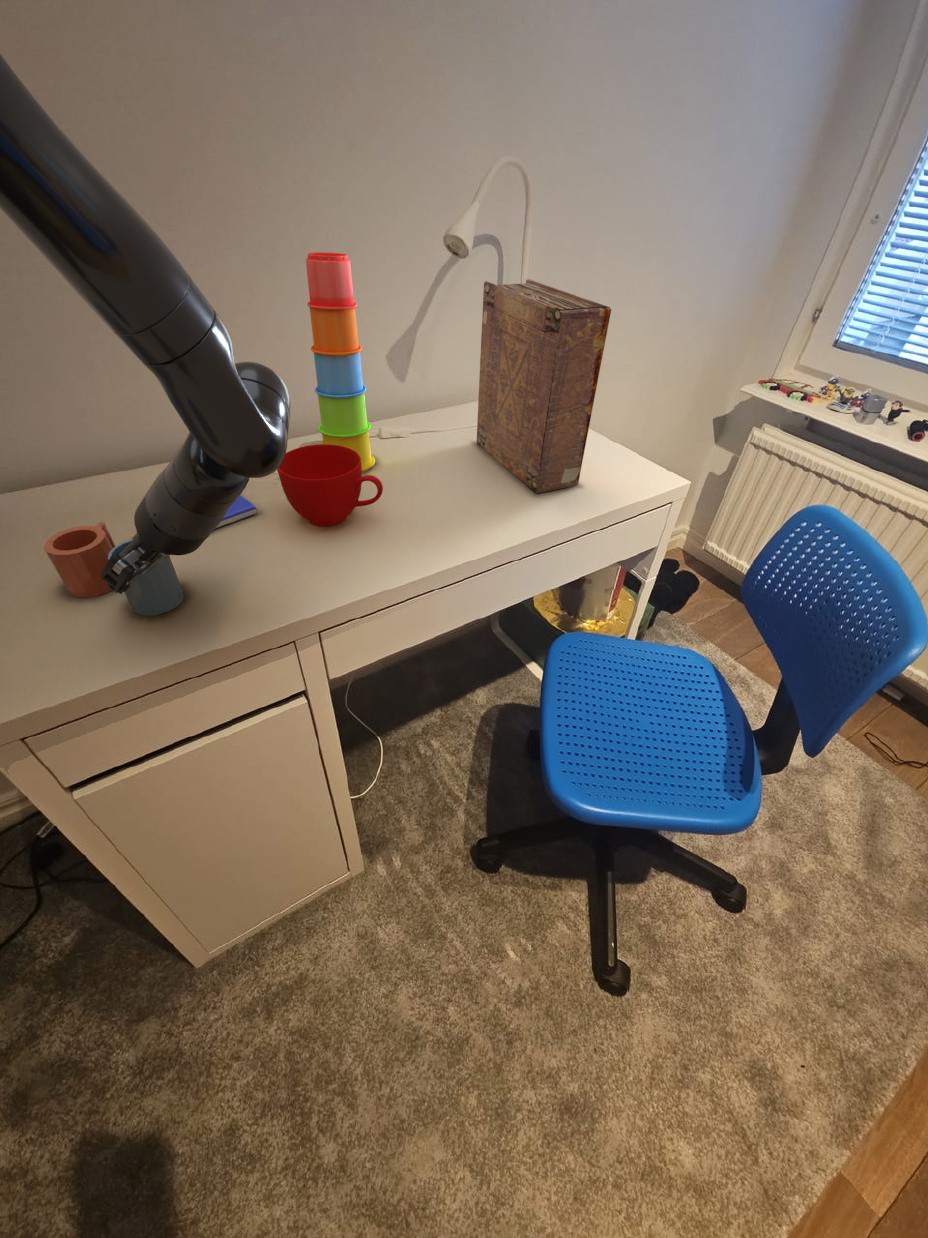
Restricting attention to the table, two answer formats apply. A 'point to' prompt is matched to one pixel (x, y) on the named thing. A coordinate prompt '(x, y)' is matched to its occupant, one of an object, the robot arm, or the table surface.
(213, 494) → the robot arm
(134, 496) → the table surface
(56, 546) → the mug
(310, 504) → the ceramic cup
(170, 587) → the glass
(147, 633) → the table surface
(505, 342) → the book
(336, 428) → the stacking cups
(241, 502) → the hard drive
